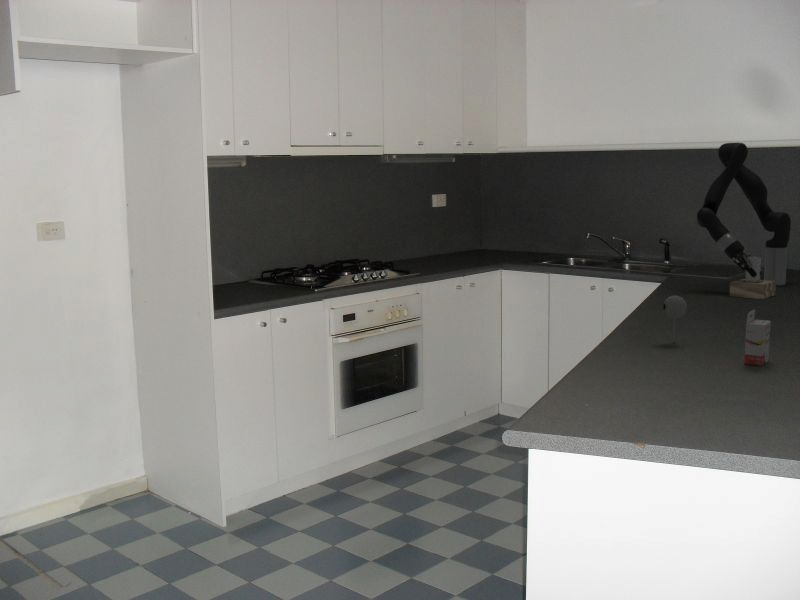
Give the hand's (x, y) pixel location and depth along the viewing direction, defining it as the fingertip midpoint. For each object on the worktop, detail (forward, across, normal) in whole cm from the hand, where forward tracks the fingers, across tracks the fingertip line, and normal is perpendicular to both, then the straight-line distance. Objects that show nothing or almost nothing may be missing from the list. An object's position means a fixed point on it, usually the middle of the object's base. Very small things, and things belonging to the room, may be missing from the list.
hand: (757, 275), depth 374 cm
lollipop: (+18, -113, -5) cm, 114 cm away
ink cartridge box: (+40, -126, -27) cm, 135 cm away
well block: (+5, 0, +7) cm, 9 cm away
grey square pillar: (+3, 0, +6) cm, 7 cm away
